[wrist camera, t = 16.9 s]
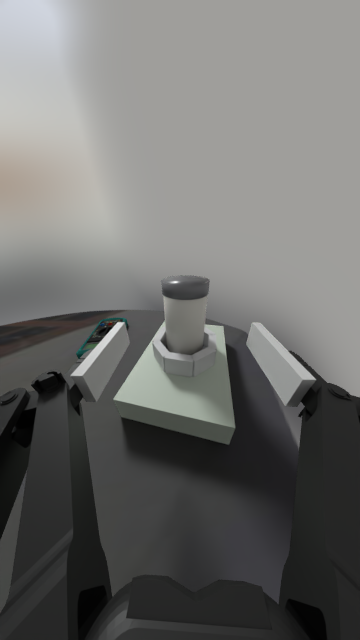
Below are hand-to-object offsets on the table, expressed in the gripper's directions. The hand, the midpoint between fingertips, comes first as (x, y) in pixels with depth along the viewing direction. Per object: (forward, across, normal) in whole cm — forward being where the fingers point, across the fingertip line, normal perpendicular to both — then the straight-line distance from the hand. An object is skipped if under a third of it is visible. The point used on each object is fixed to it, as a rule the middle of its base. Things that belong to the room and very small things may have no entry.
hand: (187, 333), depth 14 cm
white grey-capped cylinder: (+6, 0, -8) cm, 10 cm away
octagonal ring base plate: (+6, 0, -12) cm, 13 cm away
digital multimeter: (+15, -20, -13) cm, 28 cm away
